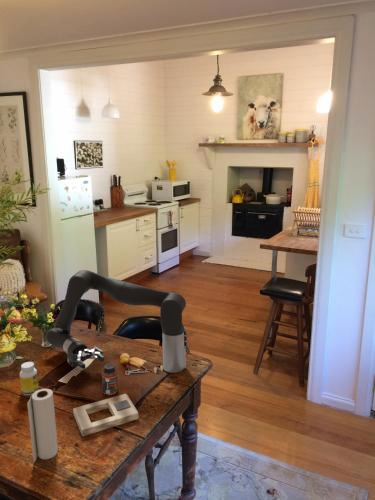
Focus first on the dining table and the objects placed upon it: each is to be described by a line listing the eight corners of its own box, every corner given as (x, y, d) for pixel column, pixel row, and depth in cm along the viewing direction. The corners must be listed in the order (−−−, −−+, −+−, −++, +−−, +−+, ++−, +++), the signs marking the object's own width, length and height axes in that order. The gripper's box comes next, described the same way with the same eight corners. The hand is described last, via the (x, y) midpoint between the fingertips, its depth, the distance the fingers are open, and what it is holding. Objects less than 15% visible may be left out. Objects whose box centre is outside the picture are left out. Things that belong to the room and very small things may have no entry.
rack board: (126, 399, 157) (126, 392, 157) (138, 418, 146) (138, 411, 145) (73, 414, 148) (73, 407, 148) (82, 436, 137) (81, 429, 136)
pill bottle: (33, 397, 159) (30, 370, 156) (18, 395, 160) (15, 368, 157) (42, 387, 165) (39, 361, 162) (27, 385, 166) (24, 359, 163)
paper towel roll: (57, 444, 134) (52, 386, 128) (58, 457, 128) (52, 397, 123) (34, 449, 131) (27, 390, 126) (33, 463, 126) (27, 401, 120)
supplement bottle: (110, 398, 158) (109, 371, 155) (99, 393, 161) (97, 367, 158) (121, 390, 163) (120, 364, 160) (109, 385, 166) (108, 360, 163)
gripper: (59, 346, 174) (77, 360, 162) (89, 336, 183) (108, 349, 172) (60, 361, 176) (78, 377, 164) (90, 351, 185) (109, 365, 174)
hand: (94, 363), depth 168 cm, fingers open, 8 cm apart
